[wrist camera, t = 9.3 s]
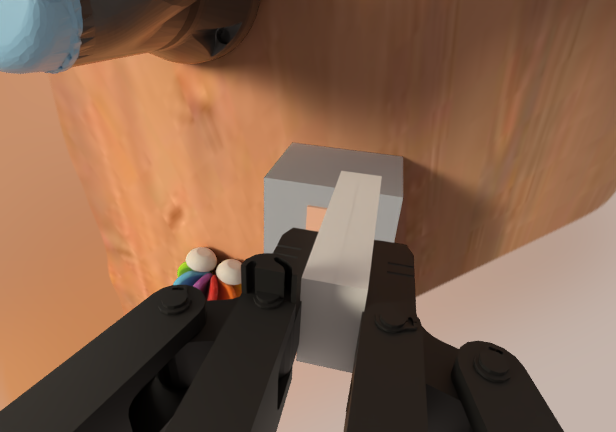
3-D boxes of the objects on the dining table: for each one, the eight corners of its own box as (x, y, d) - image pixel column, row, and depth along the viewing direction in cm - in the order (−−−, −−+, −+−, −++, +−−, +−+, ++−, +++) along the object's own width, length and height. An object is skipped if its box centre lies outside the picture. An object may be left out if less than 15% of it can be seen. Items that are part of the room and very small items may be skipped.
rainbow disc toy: (243, 306, 56) (223, 343, 50) (182, 280, 56) (154, 314, 50) (258, 263, 51) (238, 298, 45) (191, 235, 52) (162, 267, 45)
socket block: (287, 260, 50) (263, 315, 41) (292, 142, 42) (263, 178, 33) (380, 277, 48) (375, 338, 39) (403, 156, 40) (403, 199, 31)
